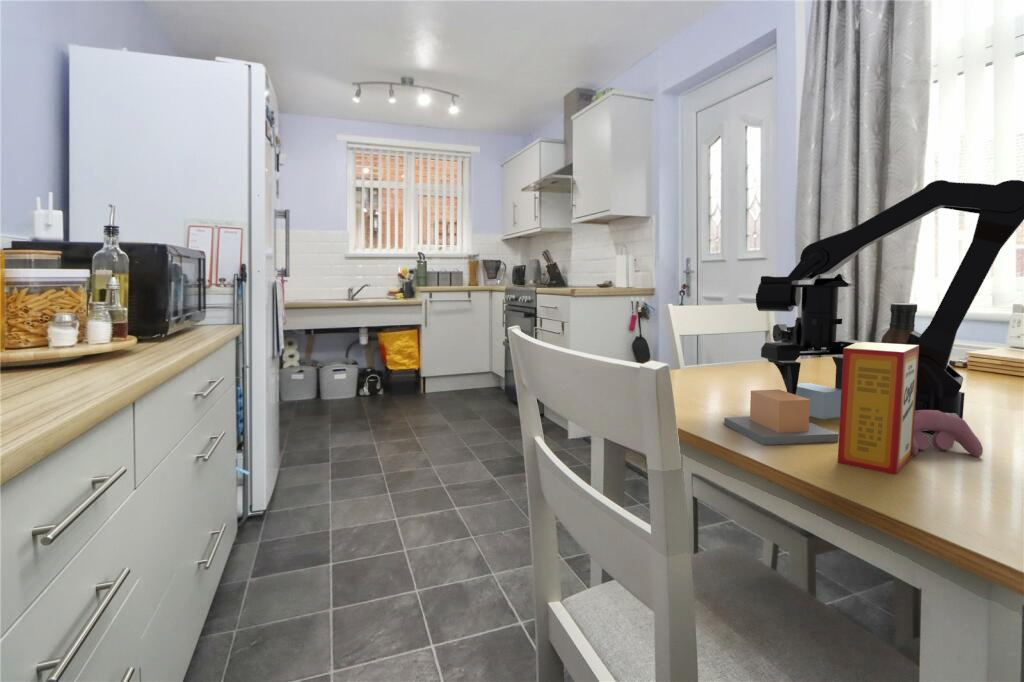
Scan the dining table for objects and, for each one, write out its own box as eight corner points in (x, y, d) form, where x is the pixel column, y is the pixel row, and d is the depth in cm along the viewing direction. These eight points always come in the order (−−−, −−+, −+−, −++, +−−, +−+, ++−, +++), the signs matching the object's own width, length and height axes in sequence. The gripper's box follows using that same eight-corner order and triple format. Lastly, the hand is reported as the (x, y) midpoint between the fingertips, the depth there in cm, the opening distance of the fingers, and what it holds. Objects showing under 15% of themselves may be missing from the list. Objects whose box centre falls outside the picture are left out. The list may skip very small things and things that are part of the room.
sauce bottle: (869, 406, 102) (875, 303, 100) (882, 401, 106) (887, 302, 104) (909, 412, 97) (916, 304, 95) (920, 407, 101) (927, 303, 99)
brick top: (805, 407, 103) (806, 382, 102) (843, 417, 95) (845, 390, 95) (785, 410, 101) (786, 384, 100) (823, 420, 94) (824, 392, 93)
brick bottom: (777, 418, 90) (778, 389, 90) (808, 431, 82) (810, 399, 82) (749, 419, 90) (750, 390, 89) (778, 432, 82) (779, 400, 81)
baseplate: (789, 421, 92) (790, 414, 92) (838, 441, 81) (838, 433, 80) (724, 424, 91) (724, 417, 91) (763, 445, 79) (763, 437, 79)
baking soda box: (857, 447, 78) (862, 339, 76) (911, 457, 73) (919, 342, 71) (837, 462, 71) (843, 345, 70) (896, 474, 67) (904, 349, 65)
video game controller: (965, 460, 76) (952, 412, 78) (989, 456, 72) (974, 405, 74) (892, 459, 77) (881, 412, 79) (911, 455, 72) (899, 405, 75)
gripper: (836, 309, 105) (832, 386, 107) (746, 311, 103) (744, 389, 105) (880, 312, 94) (875, 398, 96) (780, 314, 92) (777, 402, 94)
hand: (815, 396), depth 98 cm, fingers open, 9 cm apart
